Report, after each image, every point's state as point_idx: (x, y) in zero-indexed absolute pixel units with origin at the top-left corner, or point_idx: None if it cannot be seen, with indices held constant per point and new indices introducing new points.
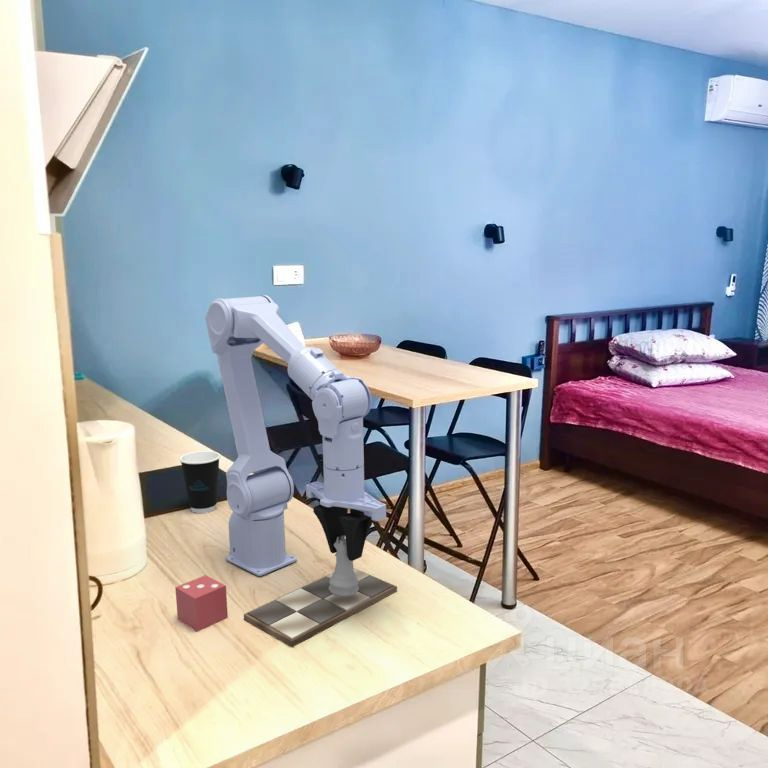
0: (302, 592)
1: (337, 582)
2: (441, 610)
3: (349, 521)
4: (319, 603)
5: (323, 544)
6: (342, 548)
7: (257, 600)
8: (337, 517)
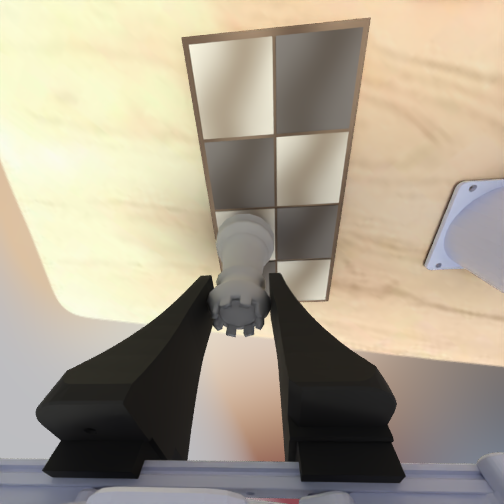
0: (323, 194)
1: (234, 229)
2: (151, 301)
3: (47, 395)
4: (266, 191)
5: (417, 320)
6: (217, 287)
7: (396, 116)
8: (281, 383)
